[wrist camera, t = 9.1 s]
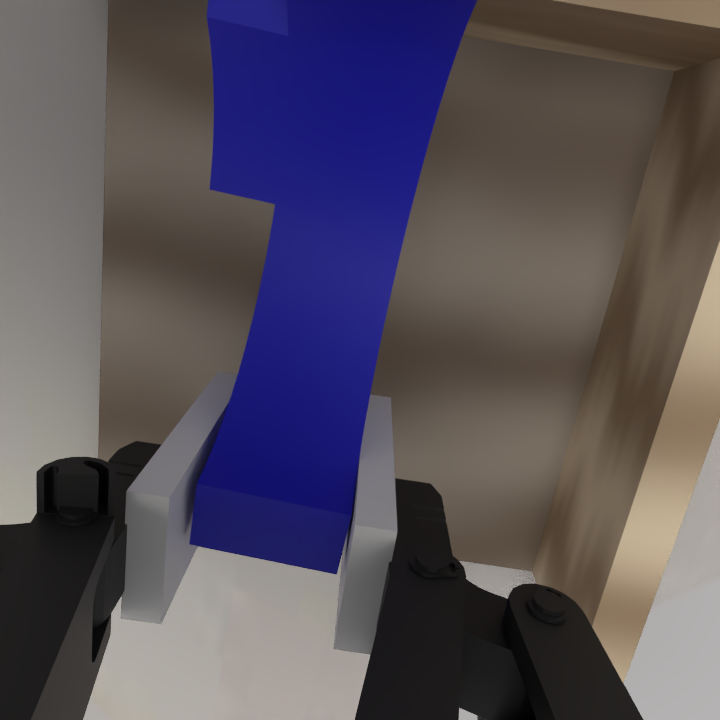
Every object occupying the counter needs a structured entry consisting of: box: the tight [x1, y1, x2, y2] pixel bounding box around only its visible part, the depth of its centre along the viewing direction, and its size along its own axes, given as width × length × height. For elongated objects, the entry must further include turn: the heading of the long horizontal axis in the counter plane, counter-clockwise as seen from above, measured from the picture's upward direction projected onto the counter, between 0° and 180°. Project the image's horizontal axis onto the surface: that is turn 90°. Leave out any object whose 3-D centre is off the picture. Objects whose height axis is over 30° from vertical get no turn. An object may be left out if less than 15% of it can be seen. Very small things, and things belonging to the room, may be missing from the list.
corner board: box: [98, 0, 720, 683], centre depth 19 cm, size 20×18×6 cm
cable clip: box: [189, 0, 477, 574], centre depth 13 cm, size 12×4×6 cm, turn 168°
